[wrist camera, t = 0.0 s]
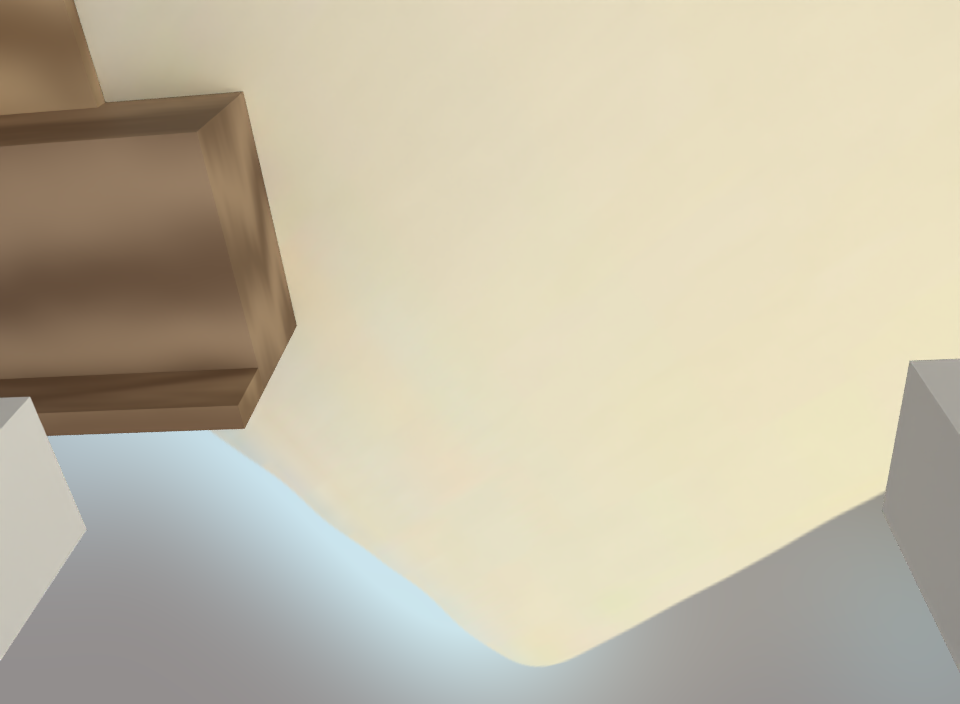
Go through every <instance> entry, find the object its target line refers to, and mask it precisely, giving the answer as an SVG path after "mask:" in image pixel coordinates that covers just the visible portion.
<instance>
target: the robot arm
mask: <svg viewBox="0 0 960 704" xmlns="http://www.w3.org/2000/svg"><path fill="white" fill-rule="evenodd" d="M882 512H883V514H884V517H885V519H886V521H887V523H888V525H889V527H890V529H891V531H892V533H893V535H894V537H895V539H896V541H897V543H898V546H899V547H900V550H901V552H902V554H903V556H904V558H905V560H906V562H907V564H908V566H909V568H910V570H911V572H912V575H913V577H914V579H915V581H916V583H917V585H918V587H919V589H920V591H921V593H922V595H923V597H924V599H925V601H926V604H927V606H928V608H929V610H930V612H931V614H932V616H933V618H934V620H935V622H936V624H937V626H938V628H939V630H940V632H941V635H942V637H943V639H944V641H945V643H946V645H947V647H948V649H949V651H950V653H951V655H952V657H953V659H954V661H955V663H956V666H957V668H958V670H959V672H960V359H942V360H917V361H910V362H909V367H908V373H907V378H906V384H905V389H904V394H903V400H902V405H901V411H900V416H899V422H898V427H897V432H896V438H895V443H894V449H893V454H892V459H891V465H890V470H889V476H888V481H887V486H886V492H885V497H884V503H883V508H882ZM85 531H86V527H85V525H84V522H83V520H82V518H81V515H80V513H79V511H78V508H77V506H76V504H75V501H74V499H73V497H72V494H71V492H70V489H69V487H68V485H67V482H66V480H65V478H64V475H63V473H62V471H61V468H60V466H59V464H58V461H57V459H56V457H55V455H54V452H53V450H52V447H51V445H50V442H49V440H48V438H47V435H46V433H45V431H44V428H43V426H42V424H41V421H40V419H39V417H38V414H37V412H36V410H35V407H34V405H33V403H32V400H31V398H30V397H9V398H0V660H1V659H2V657H3V656H4V654H5V653H6V651H7V650H8V648H9V647H10V645H11V644H12V642H13V641H14V639H15V638H16V636H17V635H18V633H19V632H20V630H21V629H22V627H23V626H24V624H25V623H26V621H27V619H28V618H29V616H30V615H31V613H32V612H33V610H34V609H35V607H36V606H37V604H38V603H39V601H40V599H41V598H42V597H43V595H44V594H45V592H46V591H47V589H48V588H49V586H50V585H51V583H52V582H53V580H54V578H55V577H56V575H57V574H58V572H59V571H60V569H61V568H62V566H63V565H64V563H65V562H66V560H67V559H68V557H69V556H70V554H71V553H72V551H73V550H74V548H75V547H76V545H77V544H78V542H79V541H80V539H81V537H82V536H83V535H84V533H85Z"/></svg>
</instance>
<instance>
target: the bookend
mask: <svg viewBox="0 0 960 704" xmlns="http://www.w3.org/2000/svg"><path fill="white" fill-rule="evenodd" d="M104 103H105V100H104V97H103V94H102V91H101V87H100V84H99V81H98V78H97V75H96V71H95V68H94V65H93V62H92V58H91V55H90V52H89V49H88V46H87V42H86V39H85V36H84V33H83V29H82V26H81V23H80V20H79V17H78V13H77V10H76V7H75V4H74V0H0V115H8V114H21V113H34V112H47V111H59V110H72V109H85V108H97V107H99V106H101V105H102V104H104Z"/></svg>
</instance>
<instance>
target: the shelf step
mask: <svg viewBox="0 0 960 704" xmlns="http://www.w3.org/2000/svg"><path fill="white" fill-rule="evenodd" d="M296 326H297V325H296V321H295V316H294V312H293V308H292V303H291V299H290V295H289V290H288V286H287V281H286V277H285V273H284V268H283V264H282V260H281V255H280V251H279V246H278V242H277V238H276V233H275V229H274V225H273V220H272V216H271V212H270V207H269V203H268V198H267V194H266V190H265V185H264V181H263V177H262V172H261V168H260V163H259V159H258V155H257V150H256V146H255V142H254V137H253V133H252V129H251V124H250V120H249V115H248V111H247V107H246V102H245V98H244V94H243V92H234V93H221V94H209V95H196V96H183V97H171V98H158V99H145V100H133V101H120V102H107V103H104V104H102V105H101V106H99V107H97V108H85V109H72V110H59V111H47V112H34V113H21V114H8V115H0V398H9V397H30V398H31V400H32V403H33V405H34V407H35V410H36V412H37V414H38V417H39V419H40V421H41V424H42V426H43V428H44V431H45V433H46V435H47V436H54V435H55V436H56V435H83V434H109V433H138V432H166V431H193V430H221V429H245V427H246V425H247V423H248V421H249V419H250V417H251V415H252V413H253V411H254V409H255V407H256V405H257V403H258V401H259V399H260V397H261V395H262V393H263V391H264V389H265V387H266V385H267V383H268V381H269V379H270V377H271V376H272V374H273V372H274V370H275V368H276V366H277V364H278V362H279V360H280V358H281V356H282V354H283V352H284V350H285V348H286V346H287V344H288V342H289V340H290V338H291V336H292V334H293V332H294V330H295V328H296Z"/></svg>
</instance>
